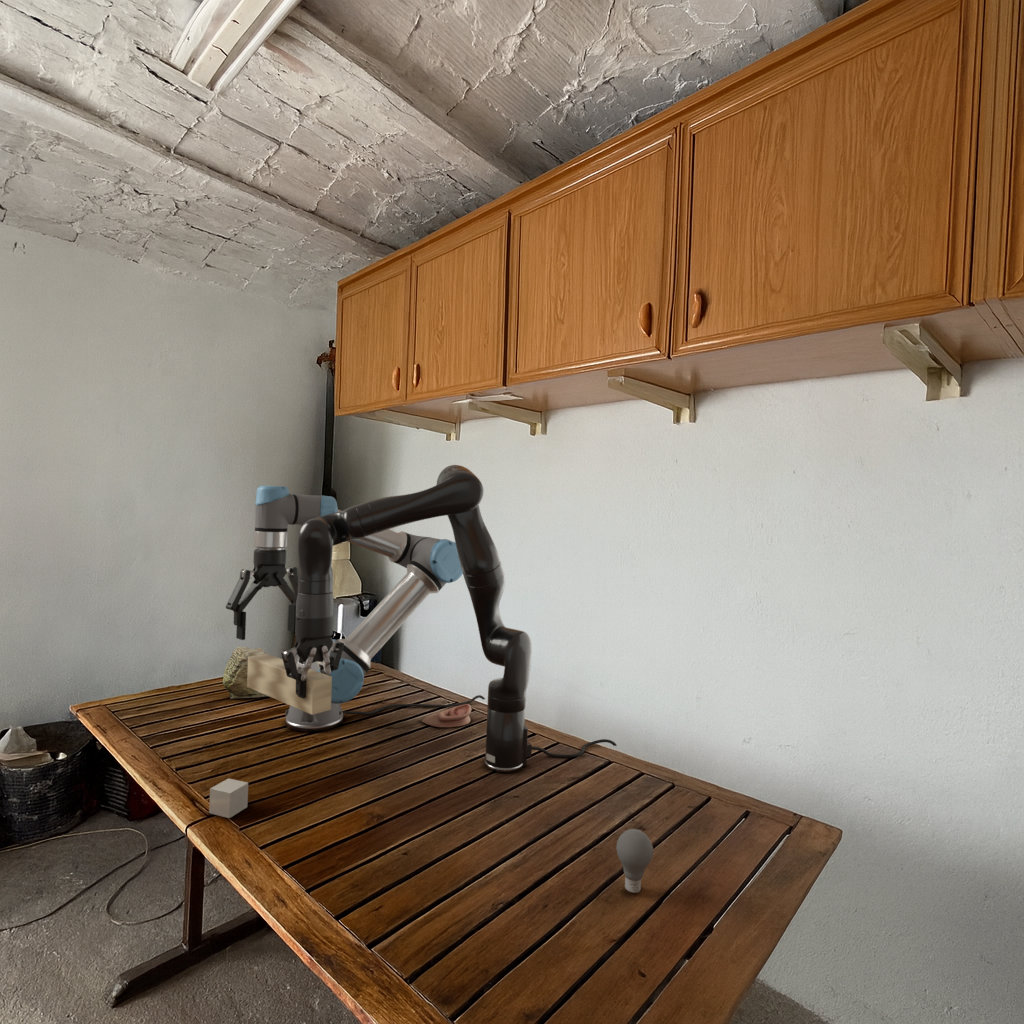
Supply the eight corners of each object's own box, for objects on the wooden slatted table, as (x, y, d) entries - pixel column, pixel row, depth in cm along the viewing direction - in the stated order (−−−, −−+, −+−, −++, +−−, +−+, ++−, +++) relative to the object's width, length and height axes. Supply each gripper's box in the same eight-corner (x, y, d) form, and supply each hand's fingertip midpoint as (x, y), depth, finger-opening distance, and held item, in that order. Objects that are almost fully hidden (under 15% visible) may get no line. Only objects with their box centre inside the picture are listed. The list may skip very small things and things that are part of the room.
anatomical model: (418, 710, 178) (431, 698, 189) (418, 724, 178) (431, 711, 189) (464, 716, 175) (474, 703, 186) (463, 730, 175) (474, 716, 186)
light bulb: (610, 879, 108) (613, 822, 108) (644, 879, 109) (647, 822, 109) (619, 902, 102) (622, 840, 102) (655, 901, 103) (658, 840, 103)
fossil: (218, 695, 195) (220, 647, 195) (278, 685, 208) (279, 640, 207) (228, 703, 189) (230, 653, 188) (289, 692, 201) (290, 645, 201)
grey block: (227, 802, 130) (228, 778, 130) (247, 807, 128) (248, 782, 128) (208, 813, 125) (209, 788, 125) (229, 818, 123) (230, 793, 123)
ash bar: (247, 687, 145) (247, 656, 145) (265, 683, 149) (266, 653, 149) (312, 715, 129) (313, 680, 129) (331, 709, 132) (332, 676, 132)
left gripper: (306, 545, 167) (303, 625, 167) (212, 549, 148) (209, 639, 148) (323, 548, 162) (320, 630, 163) (228, 551, 143) (225, 645, 143)
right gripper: (333, 607, 140) (330, 683, 141) (273, 615, 129) (271, 698, 130) (354, 612, 136) (351, 691, 136) (294, 620, 124) (291, 706, 125)
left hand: (267, 635), depth 155 cm, fingers open, 13 cm apart
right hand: (312, 694), depth 133 cm, fingers closed on ash bar, 4 cm apart
